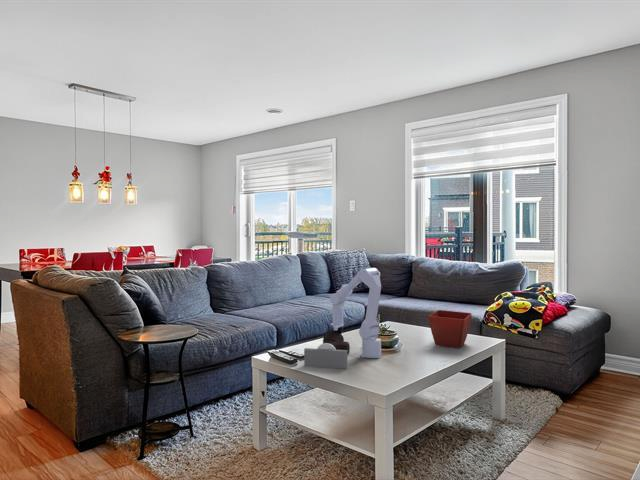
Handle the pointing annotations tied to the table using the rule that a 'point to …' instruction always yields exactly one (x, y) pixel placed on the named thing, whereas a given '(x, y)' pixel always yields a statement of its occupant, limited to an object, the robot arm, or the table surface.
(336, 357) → the duct panel
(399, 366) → the table surface
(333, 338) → the dark brown rounded piece
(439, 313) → the plant pot
